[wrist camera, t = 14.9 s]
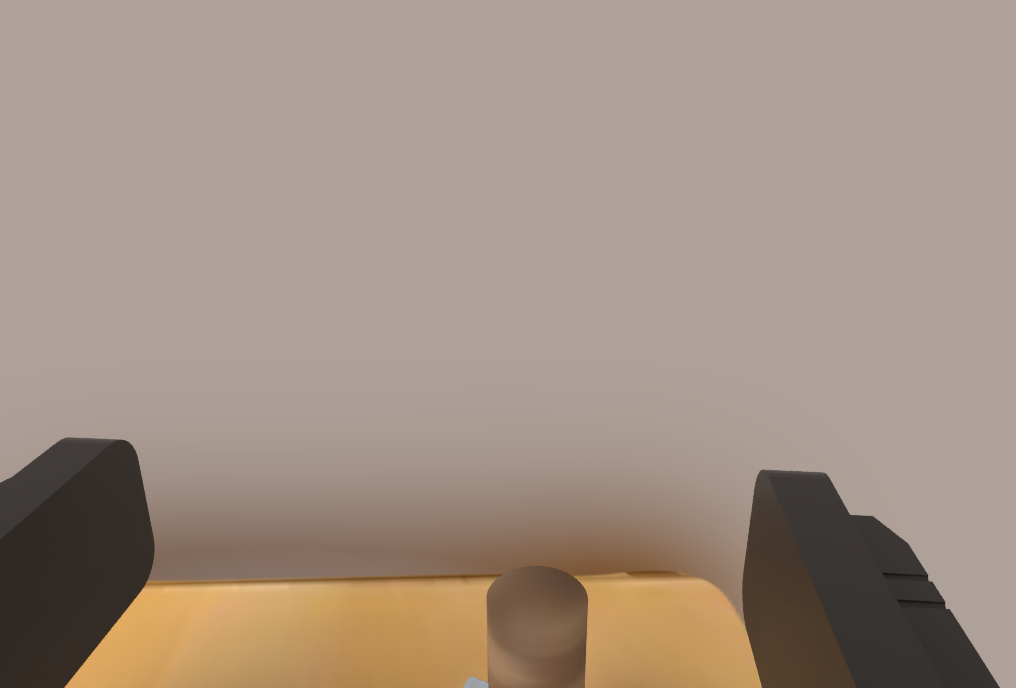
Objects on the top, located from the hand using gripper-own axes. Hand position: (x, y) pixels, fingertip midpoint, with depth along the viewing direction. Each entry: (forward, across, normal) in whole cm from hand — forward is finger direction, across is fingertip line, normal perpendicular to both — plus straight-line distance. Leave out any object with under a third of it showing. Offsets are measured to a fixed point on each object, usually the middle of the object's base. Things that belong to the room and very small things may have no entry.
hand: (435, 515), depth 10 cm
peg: (+17, -1, +30) cm, 34 cm away
